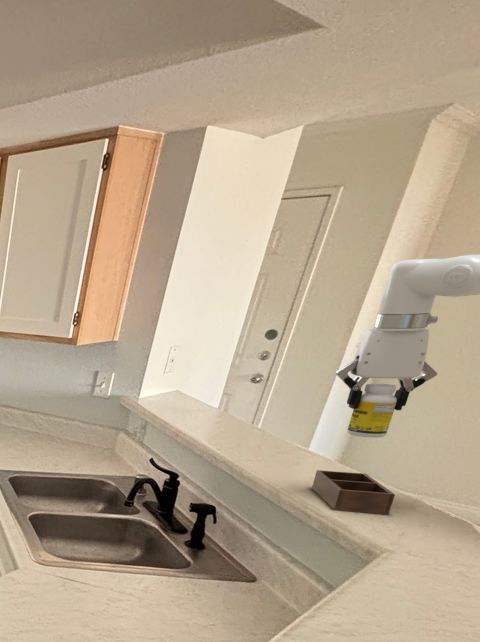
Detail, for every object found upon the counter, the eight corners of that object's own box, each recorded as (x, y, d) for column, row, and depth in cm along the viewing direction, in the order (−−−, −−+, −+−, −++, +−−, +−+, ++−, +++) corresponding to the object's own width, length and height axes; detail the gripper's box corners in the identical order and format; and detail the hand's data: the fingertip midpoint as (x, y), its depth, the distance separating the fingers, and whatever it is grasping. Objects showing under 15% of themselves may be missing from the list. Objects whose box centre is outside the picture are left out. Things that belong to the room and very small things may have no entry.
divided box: (359, 492, 138) (365, 473, 137) (388, 514, 124) (395, 494, 123) (311, 488, 142) (316, 470, 141) (334, 509, 129) (340, 489, 127)
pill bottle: (340, 431, 134) (354, 383, 130) (374, 432, 132) (390, 383, 128) (355, 437, 128) (371, 386, 125) (392, 438, 126) (409, 387, 123)
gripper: (450, 321, 121) (421, 407, 127) (338, 323, 129) (316, 404, 135) (469, 322, 115) (437, 413, 121) (351, 324, 123) (327, 409, 129)
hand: (374, 407), depth 128 cm, fingers closed on pill bottle, 6 cm apart
